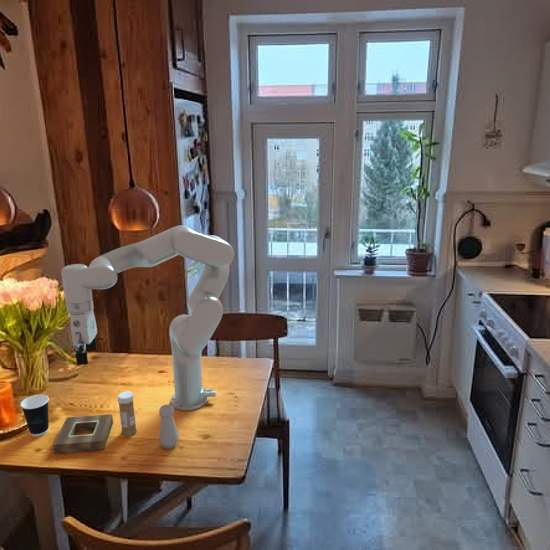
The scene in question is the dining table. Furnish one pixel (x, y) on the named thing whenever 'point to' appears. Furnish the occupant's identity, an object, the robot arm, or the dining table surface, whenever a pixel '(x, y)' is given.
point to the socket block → (83, 443)
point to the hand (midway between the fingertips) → (87, 356)
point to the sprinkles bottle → (127, 413)
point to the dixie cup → (36, 414)
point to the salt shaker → (167, 427)
